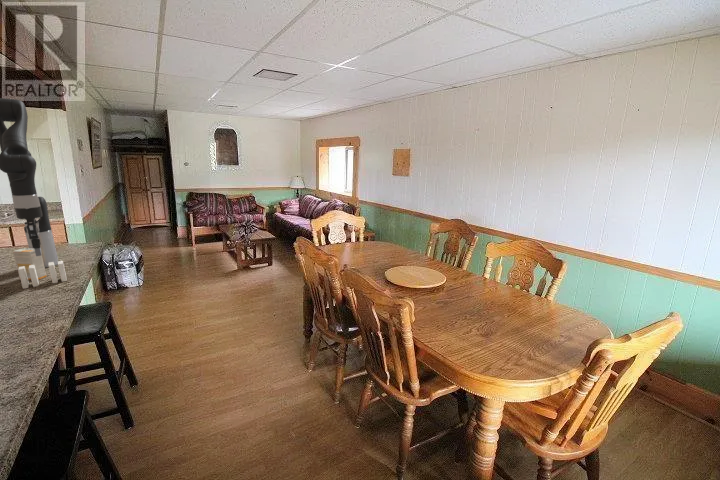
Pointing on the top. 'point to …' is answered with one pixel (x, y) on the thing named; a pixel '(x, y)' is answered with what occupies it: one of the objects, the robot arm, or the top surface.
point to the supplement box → (29, 262)
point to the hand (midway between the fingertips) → (37, 246)
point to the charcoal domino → (37, 250)
